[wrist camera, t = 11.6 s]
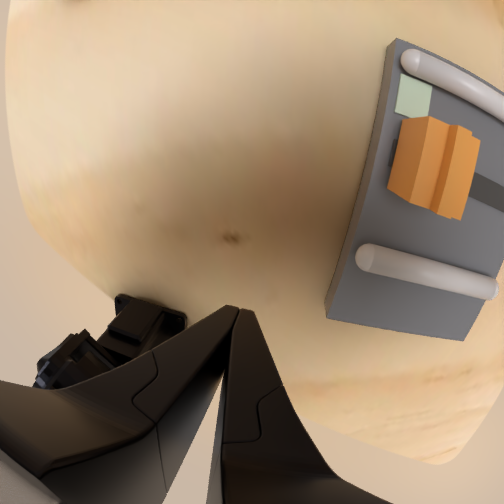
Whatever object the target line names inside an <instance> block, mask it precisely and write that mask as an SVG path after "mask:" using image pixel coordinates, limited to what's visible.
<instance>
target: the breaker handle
mask: <svg viewBox="0 0 504 504" xmlns="http://www.w3.org/2000/svg"><path fill="white" fill-rule="evenodd" d="M480 141H481V140H479V139H477V138H475V137H473V136H472V132H471V131H469V130H468V129H466V128H464V127H462V126H460V125H449V124H447V123H444V122H442V121H440V120H438V119H436V118H433V117H431V116H424V117H416V118H409V119H402V125H401V130H400V135H399V139H398V144H397V148H396V153H395V157H394V161H393V166H392V170H391V174H390V178H389V182H388V185H387V189H389V190H390V191H392V192H393V193H395V194H397V195H398V196H400V197H401V198H403V199H404V200H406V201H408V202H409V203H412V204H415V205H418V206H421V207H424V208H427V209H430V210H431V211H433V212H434V213H436V214H438V215H441V216H444V217H446V218H449V219H451V217H452V218H455V219H458V220H460V221H461V218H462V214H463V211H464V208H465V205H466V201H467V198H468V194H469V190H470V187H471V183H472V179H473V175H474V170H475V166H476V162H477V157H478V152H479V147H480Z"/></svg>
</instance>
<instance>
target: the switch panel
mask: <svg viewBox="0 0 504 504" xmlns="http://www.w3.org/2000/svg"><path fill="white" fill-rule="evenodd" d="M424 116H431V117H433V118H436V119H438V120H440V121H442V122H444V123H447V124H449V125H460V126H462V127H464V128H466V129H468V130H469V131H471V132H472V136H473V137H475V138H477V139H479V140H481V141H480V147H479V152H478V157H477V162H476V166H475V170H474V175H473V179H472V183H471V187H470V190H469V194H468V198H467V201H466V205H465V208H464V211H463V214H462V218H461V221H460V220H458V219H455V218H452V217H451V219H449V218H446V217H444V216H441V215H438V214H436V213H434V212H433V211H431V210H430V209H427V208H424V207H421V206H418V205H415V204H412V203H409V202H408V201H406V200H404V199H403V198H401V197H400V196H398V195H397V194H395V193H393V192H392V191H390V190H389V189H387V185H388V182H389V178H390V174H391V170H392V166H393V161H394V157H395V153H396V148H397V144H398V139H399V135H400V130H401V125H402V119H409V118H416V117H424ZM503 260H504V93H503V92H502V91H500V90H499V89H497V88H496V87H494V86H493V85H491V84H489V83H488V82H486V81H485V80H483V79H481V78H480V77H478V76H476V75H474V74H473V73H471V72H469V71H467V70H466V69H464V68H462V67H460V66H458V65H456V64H454V63H452V62H450V61H449V60H446V59H444V58H442V57H440V56H438V55H436V54H434V53H432V52H430V51H427V50H425V49H423V48H421V47H418V46H416V45H413V44H411V43H408V42H406V41H403V40H401V39H398V38H396V39H395V40H394V41H393V42H392V43H391V44H389V45H388V46H387V51H386V59H385V65H384V72H383V78H382V85H381V90H380V96H379V102H378V107H377V112H376V118H375V123H374V127H373V132H372V137H371V142H370V146H369V151H368V155H367V159H366V164H365V168H364V172H363V176H362V180H361V184H360V188H359V192H358V195H357V199H356V203H355V207H354V210H353V214H352V217H351V221H350V224H349V228H348V231H347V235H346V238H345V241H344V245H343V248H342V251H341V254H340V258H339V261H338V264H337V267H336V270H335V273H334V276H333V279H332V282H331V285H330V288H329V291H328V294H327V297H326V300H325V310H326V318H328V319H333V320H338V321H343V322H348V323H353V324H359V325H364V326H370V327H375V328H381V329H386V330H392V331H398V332H404V333H410V334H417V335H423V336H430V337H436V338H443V339H450V340H458V341H464V339H465V338H466V336H467V334H468V332H469V331H470V329H471V327H472V325H473V324H474V322H475V320H476V318H477V316H478V314H479V312H480V310H481V308H482V306H483V305H484V302H485V300H493V299H494V298H495V297H496V296H497V294H498V292H499V285H498V282H497V281H496V280H495V279H496V277H497V274H498V272H499V270H500V267H501V265H502V262H503Z"/></svg>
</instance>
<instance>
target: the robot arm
mask: <svg viewBox="0 0 504 504" xmlns="http://www.w3.org/2000/svg"><path fill="white" fill-rule="evenodd" d="M120 300H121V301H122V302H121V301H120ZM115 311H116V317H115V318H114V320H113V321H112V322H111V323H110V324H109V325H108V328H107V329H106V331H105V332H104V333H103V334H102V335H101V336H100V337H99V339H98V340H97V341H95V340H94V339H93V338H92V337H91V336H90V333H89V332H88V331H87V330H86V329H84V330H83V331H82V332H81V333H80V334H78V333H76V334H75V335H74V334H70V335H69V336H68V337H67V338H66V339H65V340H64V341H63V342H62V343H61V344H60V345H59V346H57V347H56V348H55V349H53V350H52V351H50V352H49V353H48V354H46V355H45V356H43V357H42V358H41V359H40V360H39V361H38V363H37V371H38V374H37V376H36V378H35V379H36V381H35V383H34V384H33V386H32V387H28V386H23V385H19V384H14V383H10V382H5V381H1V380H0V504H162V503H163V501H164V499H165V497H166V495H167V494H166V493H168V491H169V489H170V487H171V485H172V483H173V480H174V478H175V477H176V474H177V472H178V470H179V468H180V466H181V464H182V462H183V460H184V458H185V456H186V454H187V452H188V449H189V447H190V445H191V443H192V441H193V439H194V437H195V435H196V433H197V431H198V429H199V426H200V424H201V422H202V420H203V418H204V416H205V414H206V412H207V409H208V407H209V405H210V403H211V401H212V399H213V396H214V394H215V392H216V390H217V388H218V385H219V383H220V381H221V378H222V376H223V380H222V387H221V394H220V402H219V409H218V417H217V424H216V431H215V439H214V446H213V454H212V462H211V470H210V477H209V486H208V493H207V502H206V504H393V503H390V502H388V501H386V500H383V499H381V498H379V497H377V496H375V495H373V494H371V493H369V492H366V491H364V490H362V489H360V488H358V487H356V486H354V485H353V484H351V483H349V482H347V481H345V480H343V479H342V478H341V477H339V476H338V475H337V474H336V473H335V472H334V471H333V470H332V469H331V468H330V467H329V466H328V464H327V463H326V462H325V460H324V458H323V457H322V455H321V453H320V452H319V450H318V449H317V447H316V445H315V444H314V442H313V441H312V439H311V438H310V436H309V434H308V433H307V431H306V429H305V428H304V426H303V424H302V423H301V421H300V419H299V417H298V416H297V414H296V412H295V410H294V408H293V406H292V404H291V402H290V399H289V397H288V395H287V392H286V390H285V387H284V386H283V383H282V380H281V378H280V375H279V373H278V371H277V368H276V366H275V363H274V361H273V358H272V356H271V353H270V351H269V348H268V346H267V343H266V341H265V338H264V336H263V333H262V331H261V328H260V325H259V323H258V320H257V318H256V315H255V313H254V311H251V310H247V309H239V308H238V307H235V306H231V305H225V306H223V307H222V308H220V309H219V310H217V311H215V312H214V313H212V314H210V315H209V316H207V317H205V318H204V319H202V320H200V321H199V322H197V323H195V324H194V325H192V326H190V327H189V328H187V329H186V325H187V317H186V316H185V315H184V314H183V313H180V312H177V311H173V310H170V309H166V308H163V307H160V306H156V305H153V304H150V303H147V302H143V301H140V300H137V299H134V298H131V297H128V296H125V295H122V294H119V295H117V296H116V297H115ZM178 318H180V319H181V320H179V319H178ZM223 373H224V375H223Z"/></svg>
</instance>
